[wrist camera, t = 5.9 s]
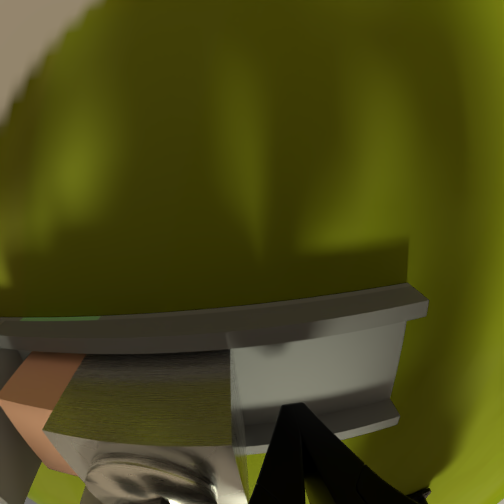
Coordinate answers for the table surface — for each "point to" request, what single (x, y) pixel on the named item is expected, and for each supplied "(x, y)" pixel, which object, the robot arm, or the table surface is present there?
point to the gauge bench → (242, 360)
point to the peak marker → (39, 400)
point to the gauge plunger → (154, 428)
